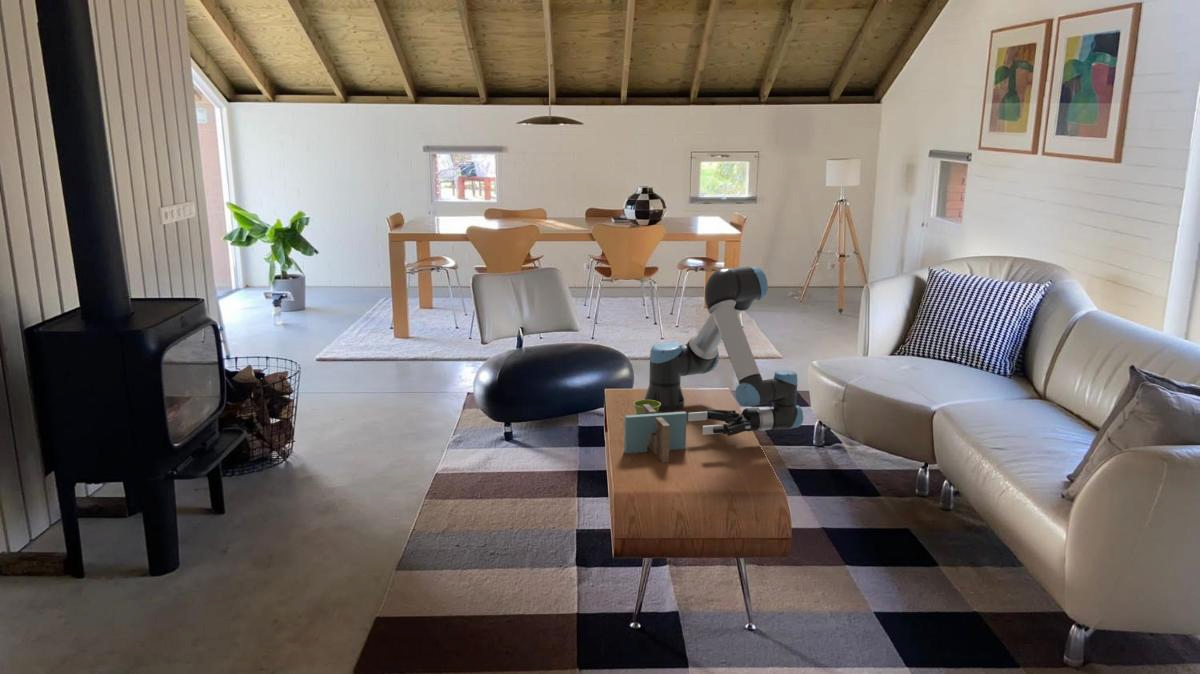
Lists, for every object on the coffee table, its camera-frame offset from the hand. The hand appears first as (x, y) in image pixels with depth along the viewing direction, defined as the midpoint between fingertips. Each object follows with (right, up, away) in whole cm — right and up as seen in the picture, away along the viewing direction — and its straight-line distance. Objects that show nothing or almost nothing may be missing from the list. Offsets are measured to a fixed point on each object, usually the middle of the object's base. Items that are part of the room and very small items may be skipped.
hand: (695, 423), depth 271 cm
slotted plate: (-13, -8, -1) cm, 16 cm away
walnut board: (-13, -8, -1) cm, 16 cm away
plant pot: (-15, -4, +21) cm, 25 cm away
